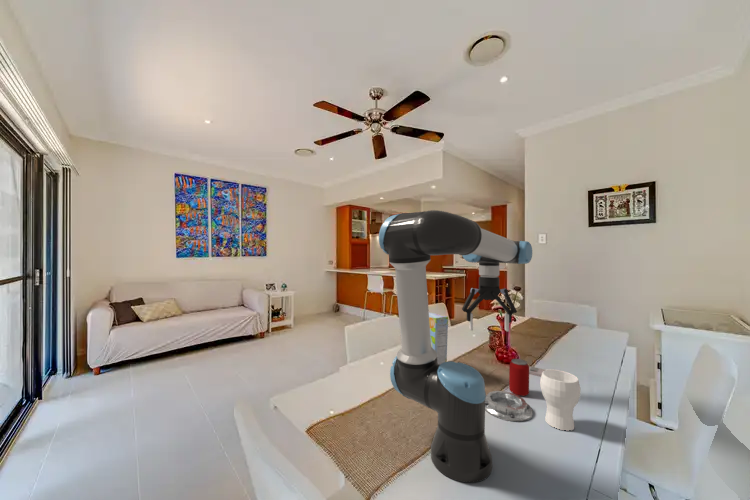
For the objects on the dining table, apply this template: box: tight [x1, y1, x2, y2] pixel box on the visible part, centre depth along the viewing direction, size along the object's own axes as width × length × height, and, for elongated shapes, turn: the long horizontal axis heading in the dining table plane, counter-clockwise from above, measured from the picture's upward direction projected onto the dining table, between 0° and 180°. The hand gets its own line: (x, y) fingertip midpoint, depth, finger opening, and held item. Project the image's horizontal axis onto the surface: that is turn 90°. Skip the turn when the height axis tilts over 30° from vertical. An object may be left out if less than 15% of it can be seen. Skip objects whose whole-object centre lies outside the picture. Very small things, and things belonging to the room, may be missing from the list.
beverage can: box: [508, 358, 530, 397], centre depth 111 cm, size 7×7×12 cm
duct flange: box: [485, 390, 534, 423], centre depth 100 cm, size 16×16×3 cm
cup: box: [539, 369, 581, 432], centre depth 91 cm, size 11×11×15 cm
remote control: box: [528, 365, 546, 378], centre depth 128 cm, size 7×16×3 cm, turn 54°
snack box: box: [429, 311, 449, 364], centre depth 131 cm, size 22×9×26 cm, turn 36°
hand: (488, 330), depth 115 cm, fingers open, 13 cm apart
